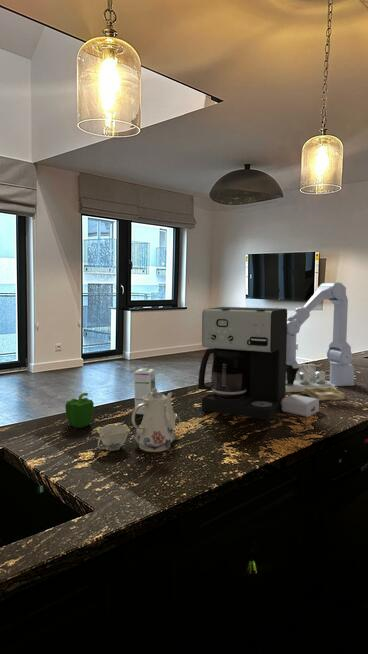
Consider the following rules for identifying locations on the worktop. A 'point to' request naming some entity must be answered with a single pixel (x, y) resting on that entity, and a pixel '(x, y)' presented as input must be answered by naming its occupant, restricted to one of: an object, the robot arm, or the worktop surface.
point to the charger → (300, 405)
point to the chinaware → (145, 426)
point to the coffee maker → (244, 360)
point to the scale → (300, 388)
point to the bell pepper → (79, 411)
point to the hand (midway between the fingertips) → (288, 382)
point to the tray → (324, 393)
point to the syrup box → (143, 385)
